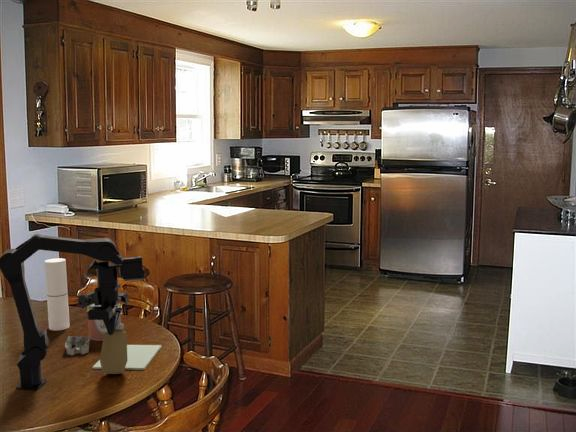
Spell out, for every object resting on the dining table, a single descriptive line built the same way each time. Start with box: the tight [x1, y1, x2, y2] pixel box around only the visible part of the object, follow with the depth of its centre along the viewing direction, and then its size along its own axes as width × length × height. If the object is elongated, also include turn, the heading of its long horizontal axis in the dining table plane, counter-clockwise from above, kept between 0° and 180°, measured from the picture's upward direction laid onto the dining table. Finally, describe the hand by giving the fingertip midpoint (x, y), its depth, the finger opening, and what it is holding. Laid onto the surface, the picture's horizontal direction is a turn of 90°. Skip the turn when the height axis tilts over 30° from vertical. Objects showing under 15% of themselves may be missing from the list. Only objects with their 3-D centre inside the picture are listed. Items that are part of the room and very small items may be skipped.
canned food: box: [86, 302, 122, 342], centre depth 228 cm, size 11×11×12 cm
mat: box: [92, 344, 162, 371], centre depth 207 cm, size 20×16×1 cm
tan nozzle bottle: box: [99, 317, 128, 375], centre depth 194 cm, size 8×8×18 cm
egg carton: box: [64, 335, 91, 356], centre depth 215 cm, size 11×8×4 cm
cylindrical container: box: [44, 257, 71, 331], centre depth 236 cm, size 7×7×25 cm
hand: (110, 334), depth 190 cm, fingers closed
